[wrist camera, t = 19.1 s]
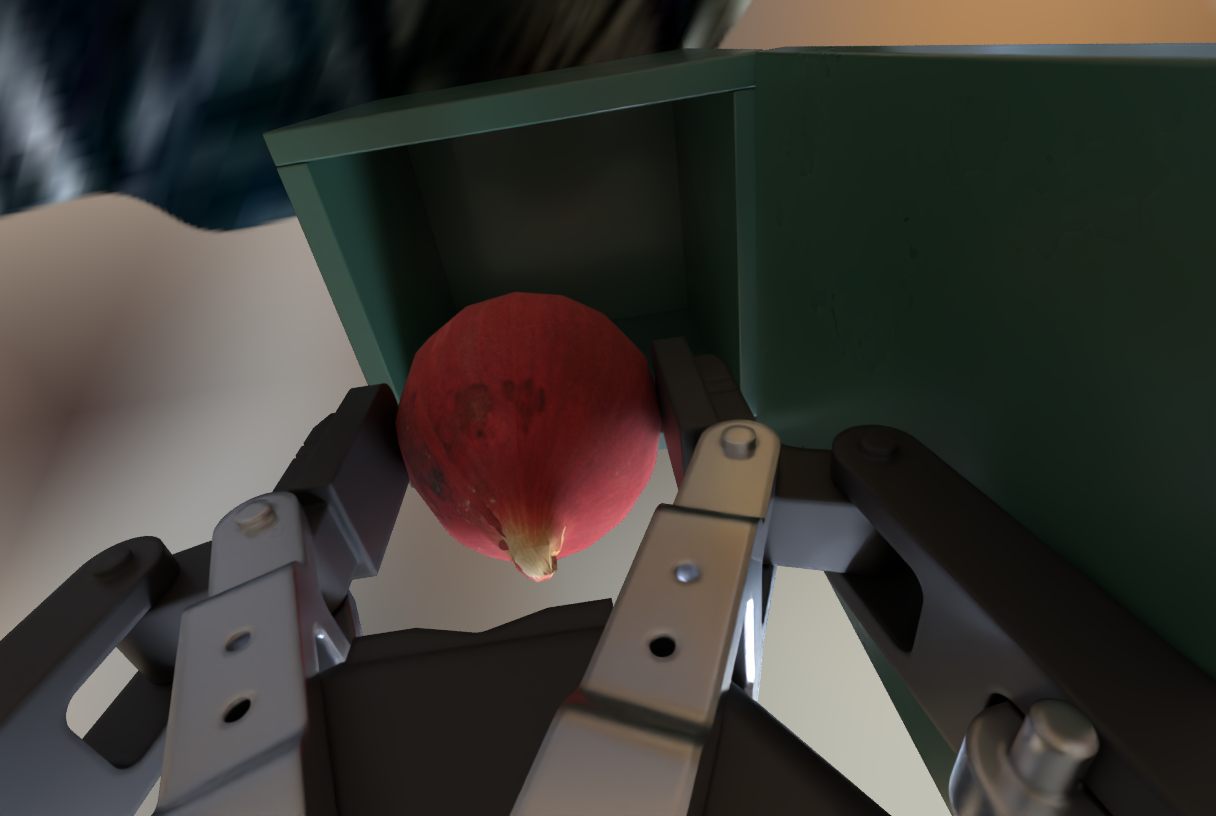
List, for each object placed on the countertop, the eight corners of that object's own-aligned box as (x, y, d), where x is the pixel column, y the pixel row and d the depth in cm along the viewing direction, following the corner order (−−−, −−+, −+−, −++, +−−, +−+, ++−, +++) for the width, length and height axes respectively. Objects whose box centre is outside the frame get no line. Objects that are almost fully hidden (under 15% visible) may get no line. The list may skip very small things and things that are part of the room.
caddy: (457, 352, 30) (411, 489, 21) (378, 99, 23) (260, 133, 14) (701, 314, 29) (764, 434, 20) (685, 48, 23) (765, 49, 14)
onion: (409, 399, 17) (306, 633, 10) (469, 213, 14) (384, 361, 8) (592, 458, 18) (608, 695, 12) (676, 300, 16) (761, 488, 9)
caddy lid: (1030, 967, 9) (1364, 913, 9) (1717, 67, 2) (2926, -137, 2) (756, 444, 20) (899, 420, 20) (754, 51, 14) (962, 16, 14)
